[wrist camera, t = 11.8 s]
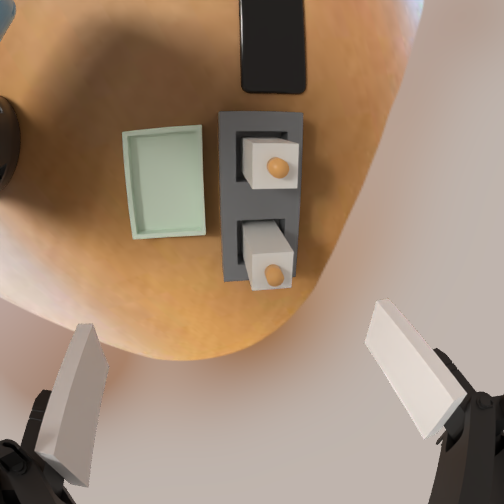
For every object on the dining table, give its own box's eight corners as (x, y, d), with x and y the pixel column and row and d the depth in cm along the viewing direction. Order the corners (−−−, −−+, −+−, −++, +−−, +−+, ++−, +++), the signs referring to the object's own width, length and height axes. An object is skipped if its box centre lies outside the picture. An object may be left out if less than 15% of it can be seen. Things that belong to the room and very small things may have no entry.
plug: (241, 249, 39) (254, 298, 29) (240, 219, 38) (254, 261, 27) (272, 247, 40) (295, 295, 29) (272, 218, 38) (297, 258, 28)
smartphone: (304, 94, 33) (300, -15, 27) (307, 94, 33) (302, -17, 26) (240, 93, 32) (238, -19, 26) (241, 93, 32) (238, -22, 25)
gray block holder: (222, 266, 41) (229, 324, 30) (218, 112, 33) (223, 107, 21) (287, 262, 42) (316, 316, 31) (293, 113, 34) (333, 112, 23)
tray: (135, 234, 37) (132, 239, 36) (125, 131, 32) (122, 132, 30) (205, 229, 38) (205, 235, 37) (201, 124, 33) (201, 124, 31)
